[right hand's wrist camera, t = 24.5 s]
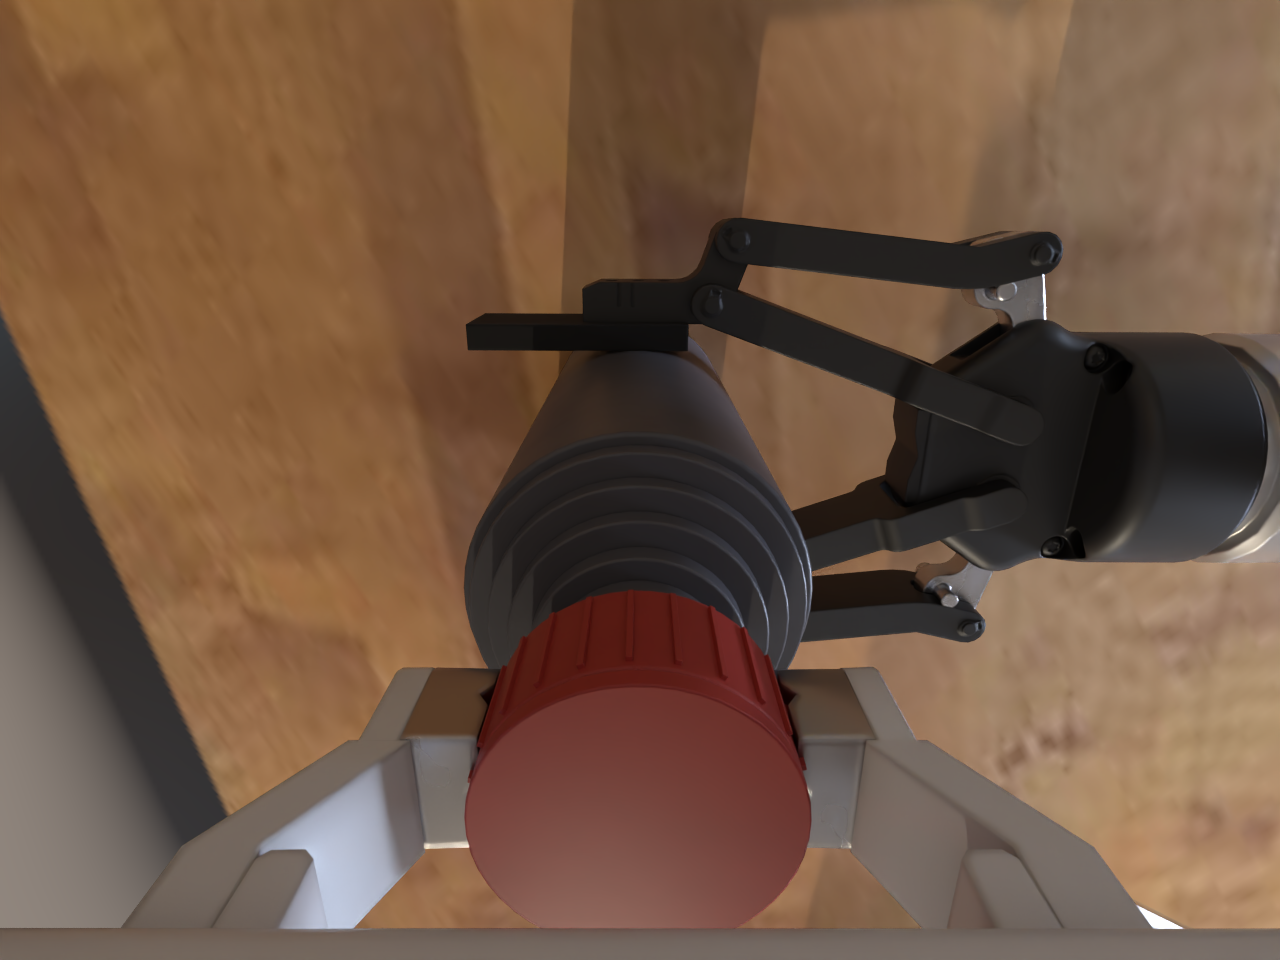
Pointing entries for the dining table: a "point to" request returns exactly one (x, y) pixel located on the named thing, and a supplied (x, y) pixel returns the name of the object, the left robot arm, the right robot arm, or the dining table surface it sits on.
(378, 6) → the dining table surface
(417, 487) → the dining table surface
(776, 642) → the bottle
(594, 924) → the cap
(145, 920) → the right robot arm
